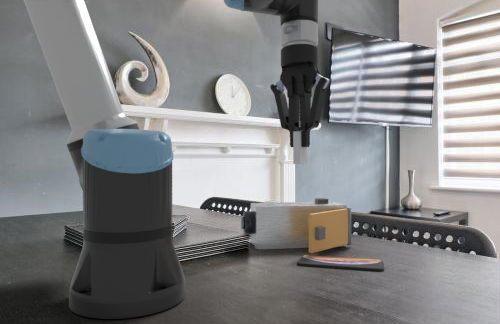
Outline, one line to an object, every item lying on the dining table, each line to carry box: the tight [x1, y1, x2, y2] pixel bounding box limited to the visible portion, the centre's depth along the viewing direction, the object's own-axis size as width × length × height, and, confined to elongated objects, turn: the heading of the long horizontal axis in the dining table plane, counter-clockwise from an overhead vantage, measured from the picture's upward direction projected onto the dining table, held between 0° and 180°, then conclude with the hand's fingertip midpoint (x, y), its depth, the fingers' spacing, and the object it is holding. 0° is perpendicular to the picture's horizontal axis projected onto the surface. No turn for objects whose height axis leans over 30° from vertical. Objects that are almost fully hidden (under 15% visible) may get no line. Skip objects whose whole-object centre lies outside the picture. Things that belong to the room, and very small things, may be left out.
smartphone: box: [296, 254, 385, 272], centre depth 73 cm, size 8×1×15 cm
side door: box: [308, 207, 352, 254], centre depth 82 cm, size 14×2×8 cm, turn 133°
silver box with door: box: [240, 197, 348, 250], centre depth 90 cm, size 23×8×10 cm, turn 98°
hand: (299, 163), depth 81 cm, fingers closed
